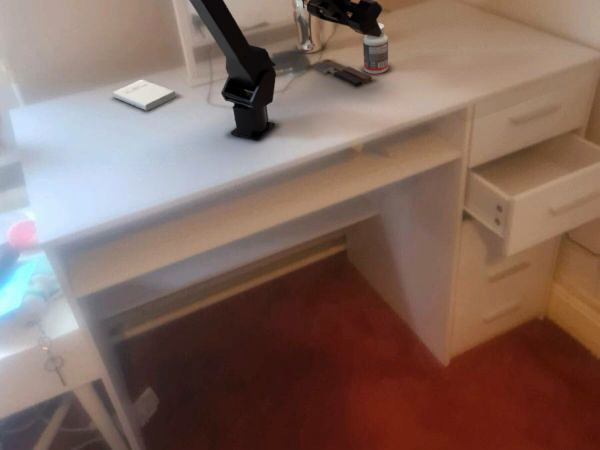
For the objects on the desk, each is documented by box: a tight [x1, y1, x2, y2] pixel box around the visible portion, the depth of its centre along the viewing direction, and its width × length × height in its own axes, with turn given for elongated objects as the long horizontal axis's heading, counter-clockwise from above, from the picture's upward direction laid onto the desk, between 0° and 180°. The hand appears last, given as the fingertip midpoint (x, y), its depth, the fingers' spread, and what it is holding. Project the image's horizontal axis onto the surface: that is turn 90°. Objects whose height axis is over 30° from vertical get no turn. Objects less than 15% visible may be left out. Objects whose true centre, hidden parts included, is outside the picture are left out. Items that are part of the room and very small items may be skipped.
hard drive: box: [112, 79, 177, 112], centre depth 134 cm, size 2×8×12 cm
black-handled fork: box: [311, 61, 363, 88], centre depth 134 cm, size 16×3×1 cm, turn 34°
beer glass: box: [290, 0, 323, 54], centre depth 143 cm, size 7×7×15 cm
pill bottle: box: [362, 22, 389, 75], centre depth 131 cm, size 5×5×10 cm
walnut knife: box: [321, 59, 373, 84], centre depth 135 cm, size 16×2×1 cm, turn 34°
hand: (365, 29), depth 127 cm, fingers open, 9 cm apart
